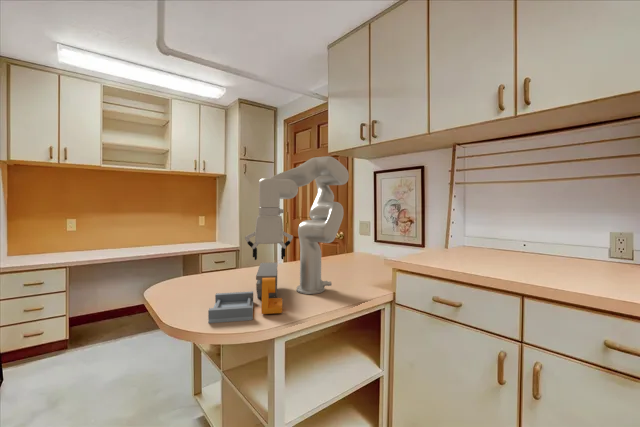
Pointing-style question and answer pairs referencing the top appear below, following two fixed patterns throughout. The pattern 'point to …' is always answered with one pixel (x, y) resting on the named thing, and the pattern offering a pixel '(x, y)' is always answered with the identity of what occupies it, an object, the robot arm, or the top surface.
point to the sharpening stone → (266, 272)
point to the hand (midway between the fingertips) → (269, 259)
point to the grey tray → (231, 307)
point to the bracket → (270, 303)
